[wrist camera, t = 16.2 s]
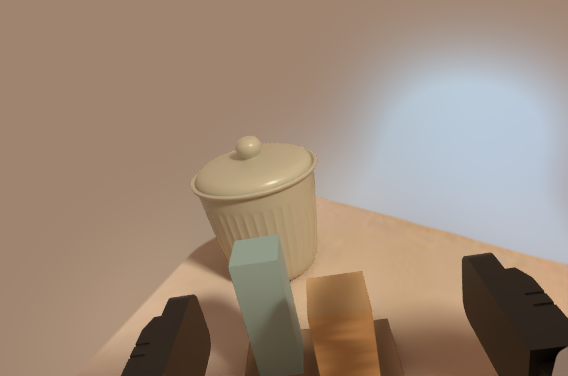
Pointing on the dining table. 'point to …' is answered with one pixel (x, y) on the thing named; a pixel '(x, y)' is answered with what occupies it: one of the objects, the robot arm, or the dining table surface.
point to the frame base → (283, 315)
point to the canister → (263, 198)
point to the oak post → (342, 325)
